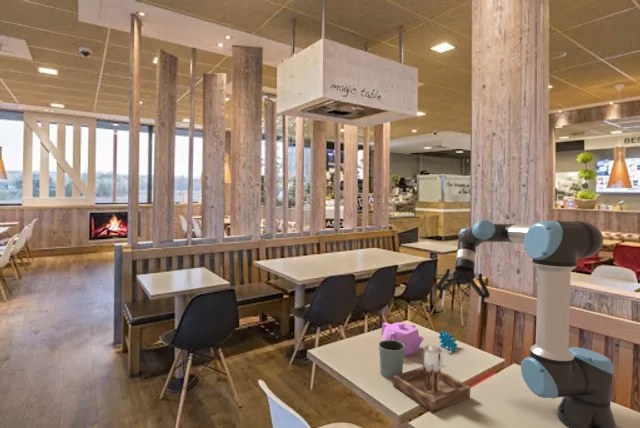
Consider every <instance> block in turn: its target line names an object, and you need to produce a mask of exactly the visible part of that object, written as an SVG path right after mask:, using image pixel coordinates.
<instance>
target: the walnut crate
mask: <svg viewBox="0 0 640 428" xmlns="http://www.w3.org/2000/svg"><path fill="white" fill-rule="evenodd" d="M392 381H393V382H392V387H393V388H394V389H396V390H398V391H399V392H401V394H403V395H405V396H406V397H408V398H409V399H411V401H413V400H414V401H413V402H415V403H416V404H418V405H419V406H421V407H422V408H423V409H425V410H426V411H428V412H429V413H431V414H434V413H437V412H440V411H441V410H444V409H446V408H448V407H451V406H454V405H456V404H458V403H462V402H463V401H466V400H468V399H470V398H471V386H470V385H467V384H465V383H464V382H462V381H460V380H458V379H456V378H455V377H453V376H452V375H449V374H448V373H445V372H444V371H442V370H441V374H440V379H439V386H440V392H439V393H437V394H431V393H427V392H425V391H424V390H423V383H424V372H423V366H421V367H418V368H414V369H411V370H408V371H405V372H402V373H401V374H398V375H395V376H393V379H392Z"/></svg>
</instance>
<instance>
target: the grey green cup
mask: <svg viewBox="0 0 640 428" xmlns="http://www.w3.org/2000/svg"><path fill="white" fill-rule="evenodd" d="M378 351H379V370H380V372H379V373H380V375H381V376H382V377H384V378H386V379H388V380H393V376H395V375H398V374H401V373H403V369H404V368H403V367H404V360H405V359H404V358H405V357H404V351H405V345H404V344H403V343H401V342H399V341H396V340H384V341H382V340H381V341H380V342H379V343H378Z"/></svg>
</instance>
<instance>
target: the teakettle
mask: <svg viewBox="0 0 640 428" xmlns="http://www.w3.org/2000/svg"><path fill="white" fill-rule="evenodd" d="M381 325H382V327H381V332H380V333H381V335H382V340H381V341H384V340H396V341H399V342H401V343H403V344H404V345H405V351H404V358H408V357H411V356H412V355H413V356H414V355H415V354H417V353H418V352H419V351H420V345H421V344H422V342H423V341H424V340H425V337H423V336H422V335H420V334H419V329H418V328H416V325H415V324H410V325H408V324H405V323H404V322H397V321H396V322H394V323H391V324H390V323H388V322H384V323H381Z"/></svg>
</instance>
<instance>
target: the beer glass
mask: <svg viewBox="0 0 640 428" xmlns="http://www.w3.org/2000/svg"><path fill="white" fill-rule="evenodd" d="M443 358H444V357H443V349H442V348H441V347H440V346H435V345H425V346H424V347H423V350H422V358H421V359H422V360H421V361H422V367H423V372H424V383H423V390H424V391H425V392H427V393H431V394H437V393H439V392H440V386H439V379H440V374H441V371H442V370H443V369H442V368H443V361H444V359H443Z"/></svg>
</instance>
